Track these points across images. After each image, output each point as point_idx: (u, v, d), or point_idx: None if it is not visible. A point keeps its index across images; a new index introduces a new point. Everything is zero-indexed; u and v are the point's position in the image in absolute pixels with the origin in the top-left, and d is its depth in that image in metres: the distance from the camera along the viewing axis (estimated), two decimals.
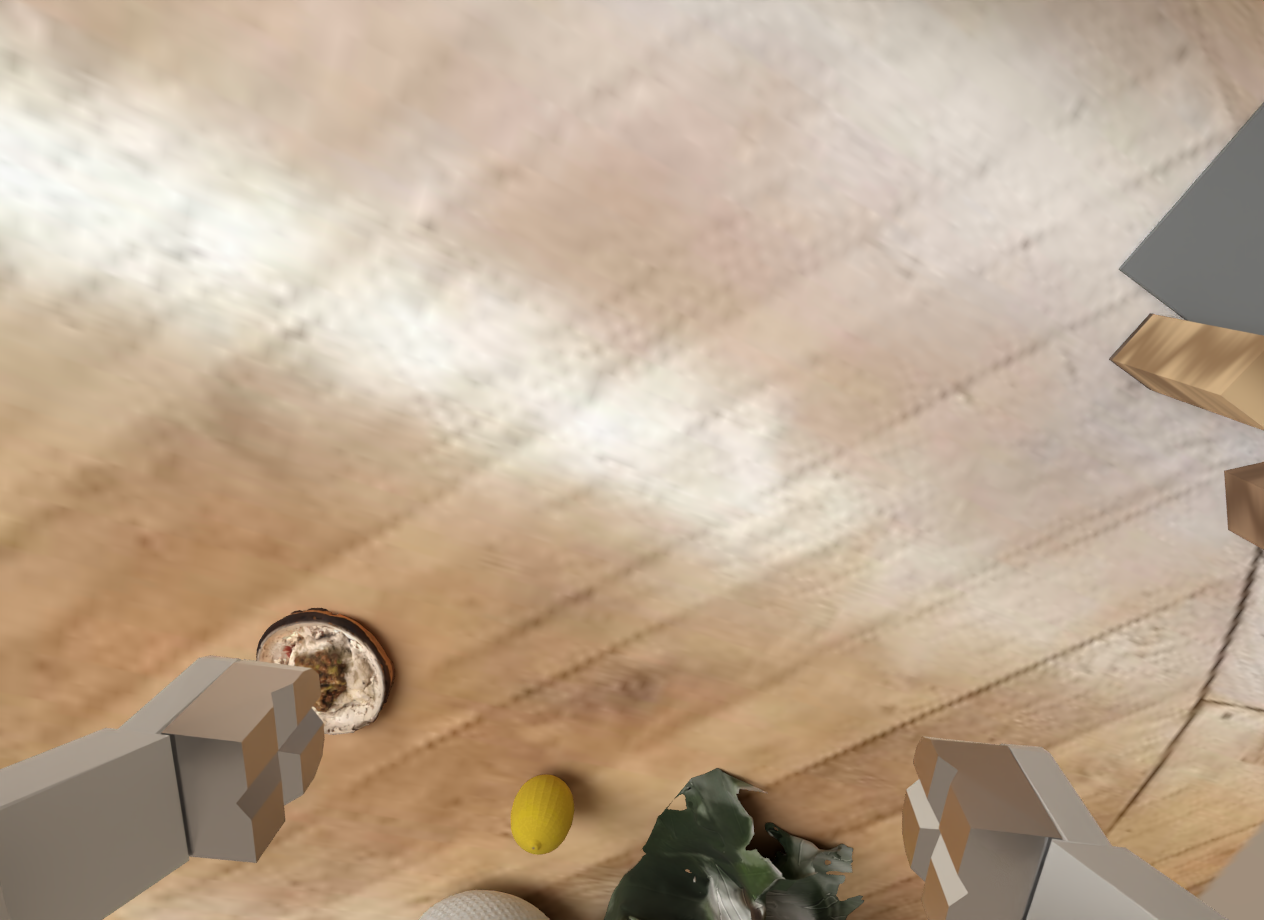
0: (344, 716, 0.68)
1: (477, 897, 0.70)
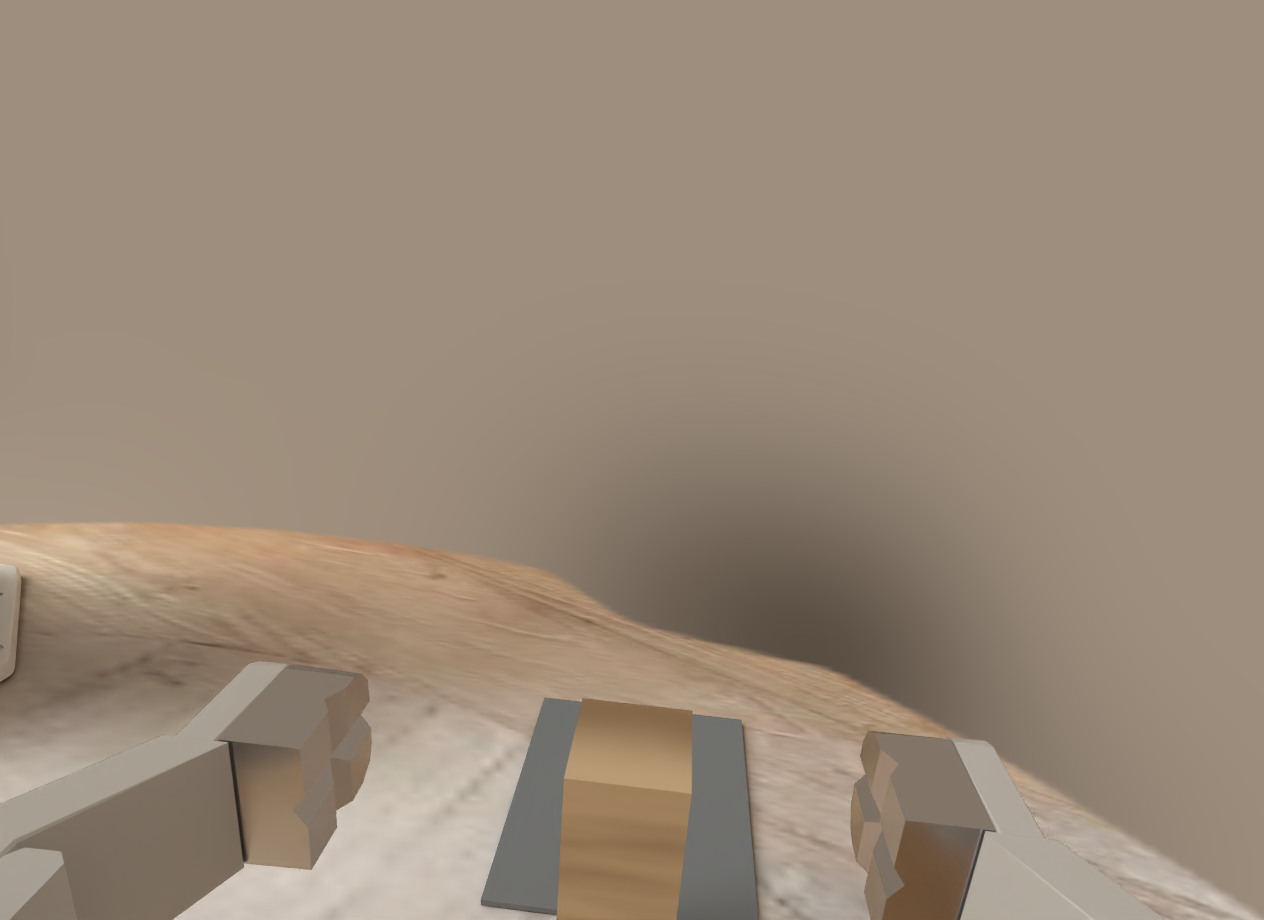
0: None
1: None
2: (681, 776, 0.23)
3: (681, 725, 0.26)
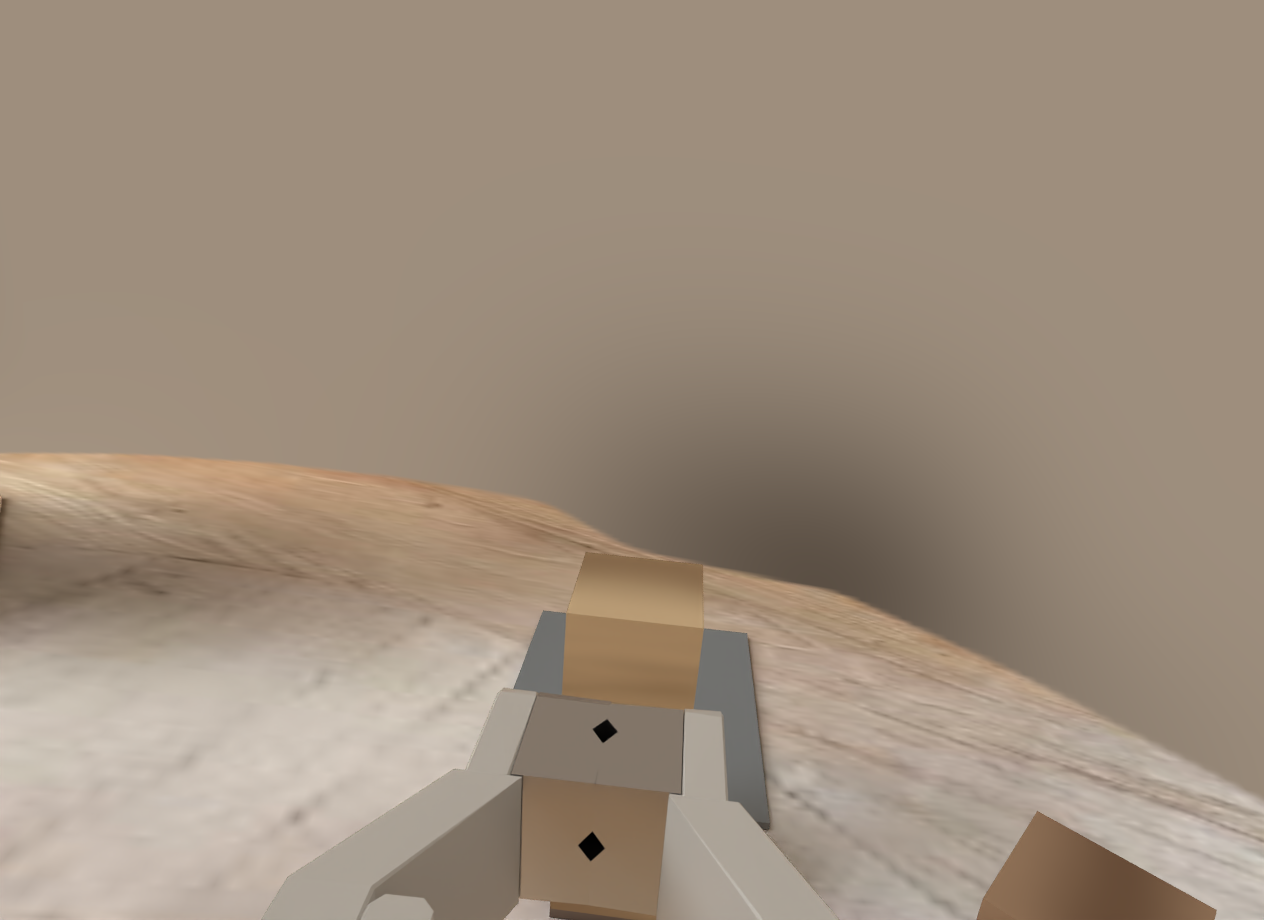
0: None
1: None
2: (692, 614, 0.22)
3: (691, 575, 0.24)
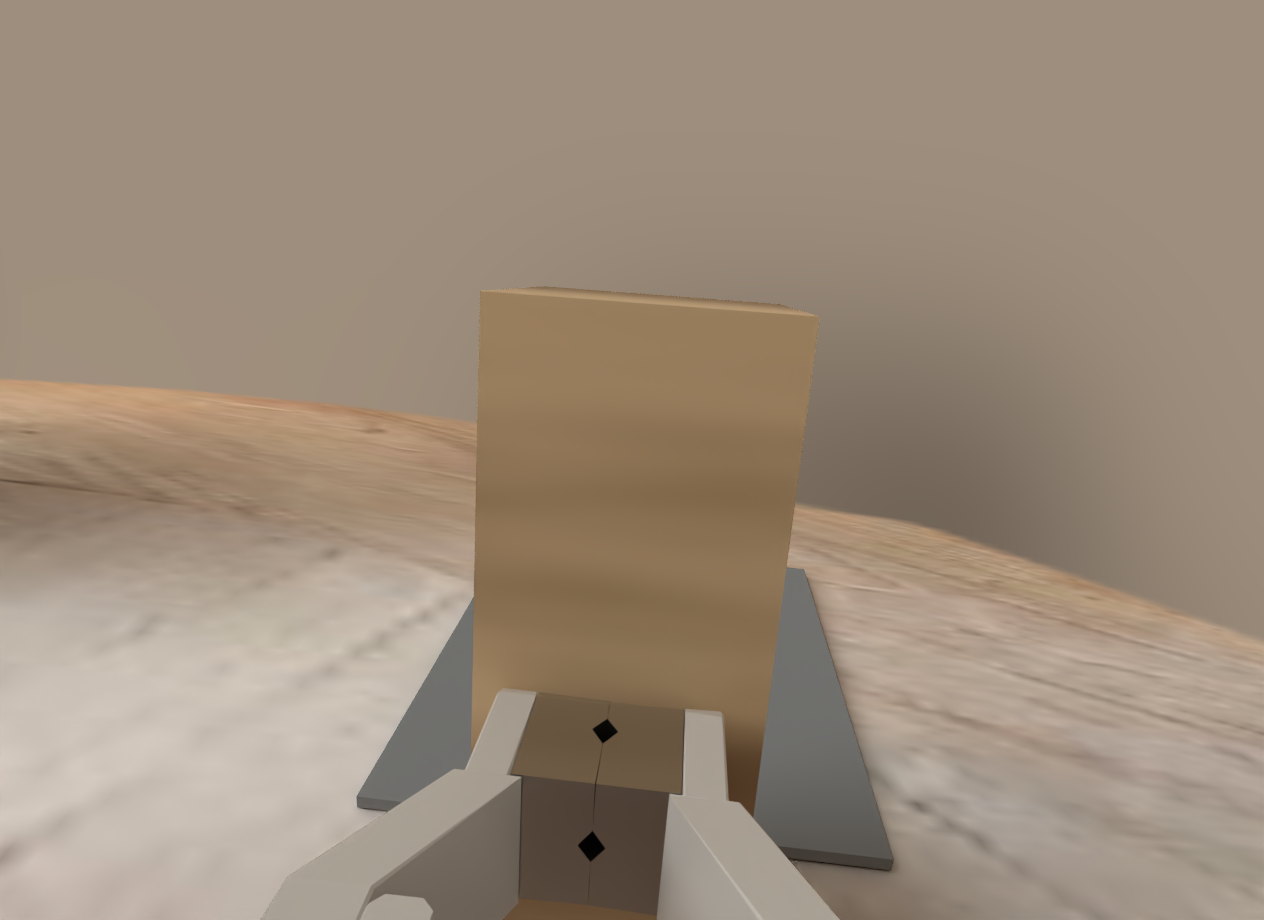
0: None
1: None
2: (784, 311, 0.09)
3: (761, 304, 0.12)
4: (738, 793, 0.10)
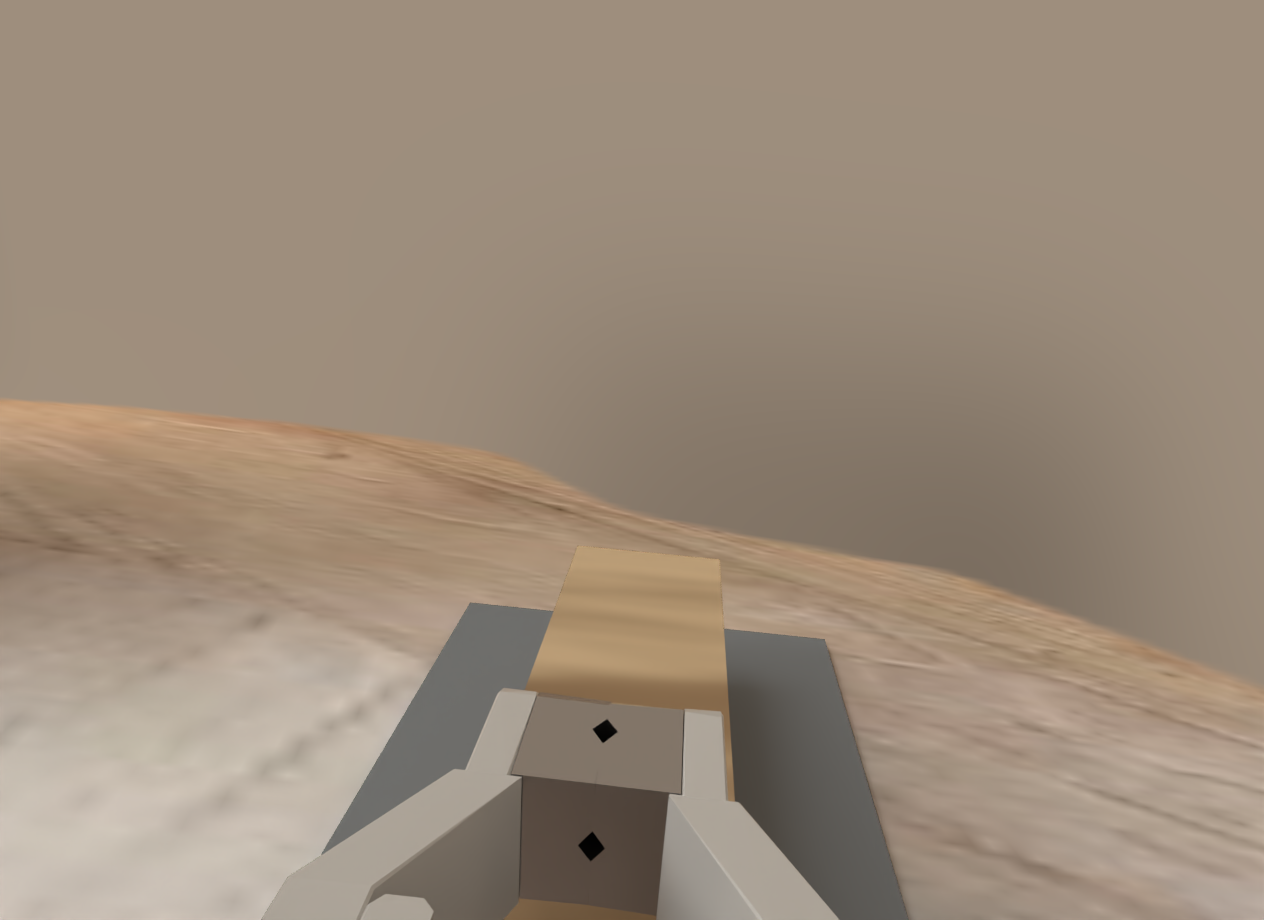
0: None
1: None
2: None
3: None
4: (716, 702, 0.14)
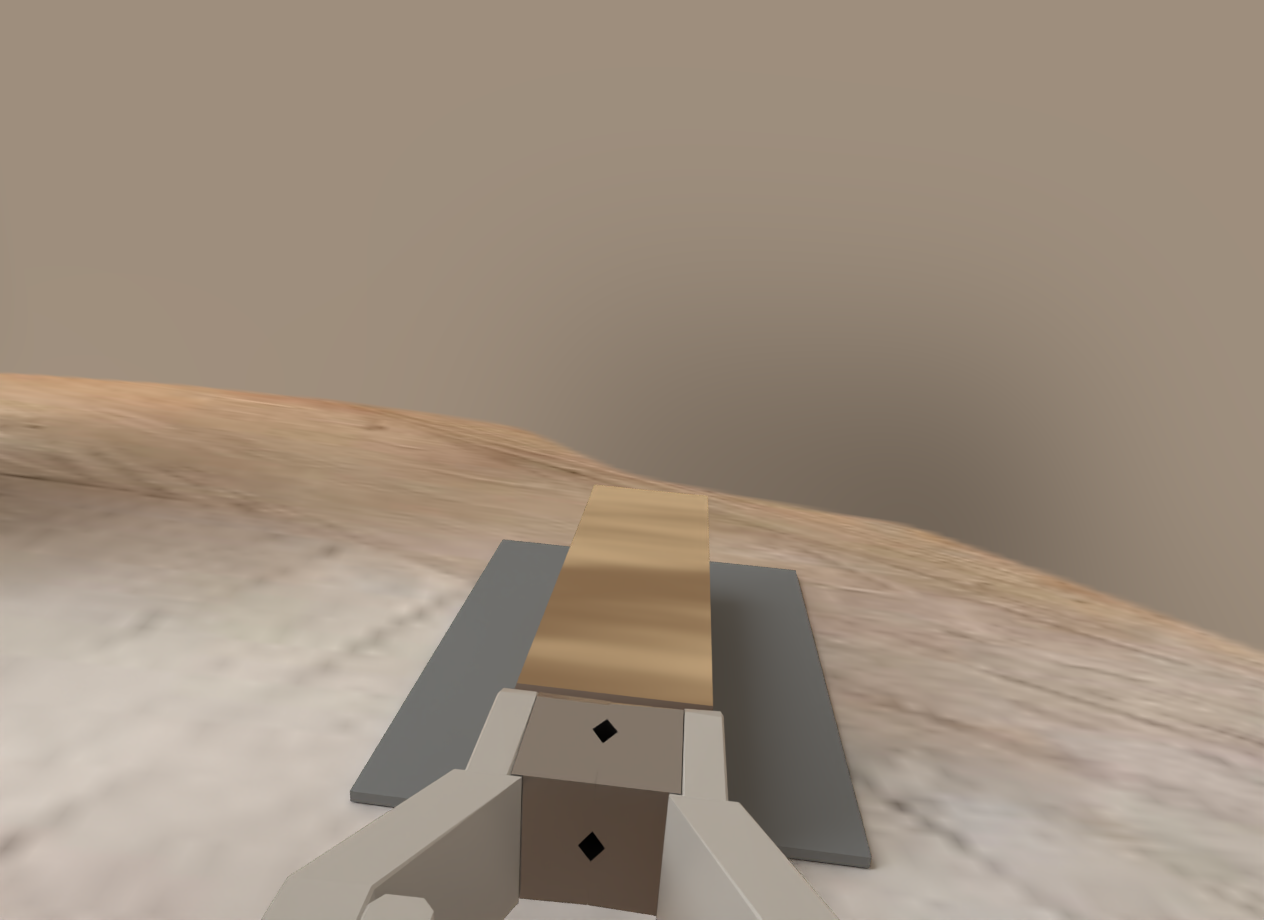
0: None
1: None
2: None
3: None
4: (700, 582, 0.20)
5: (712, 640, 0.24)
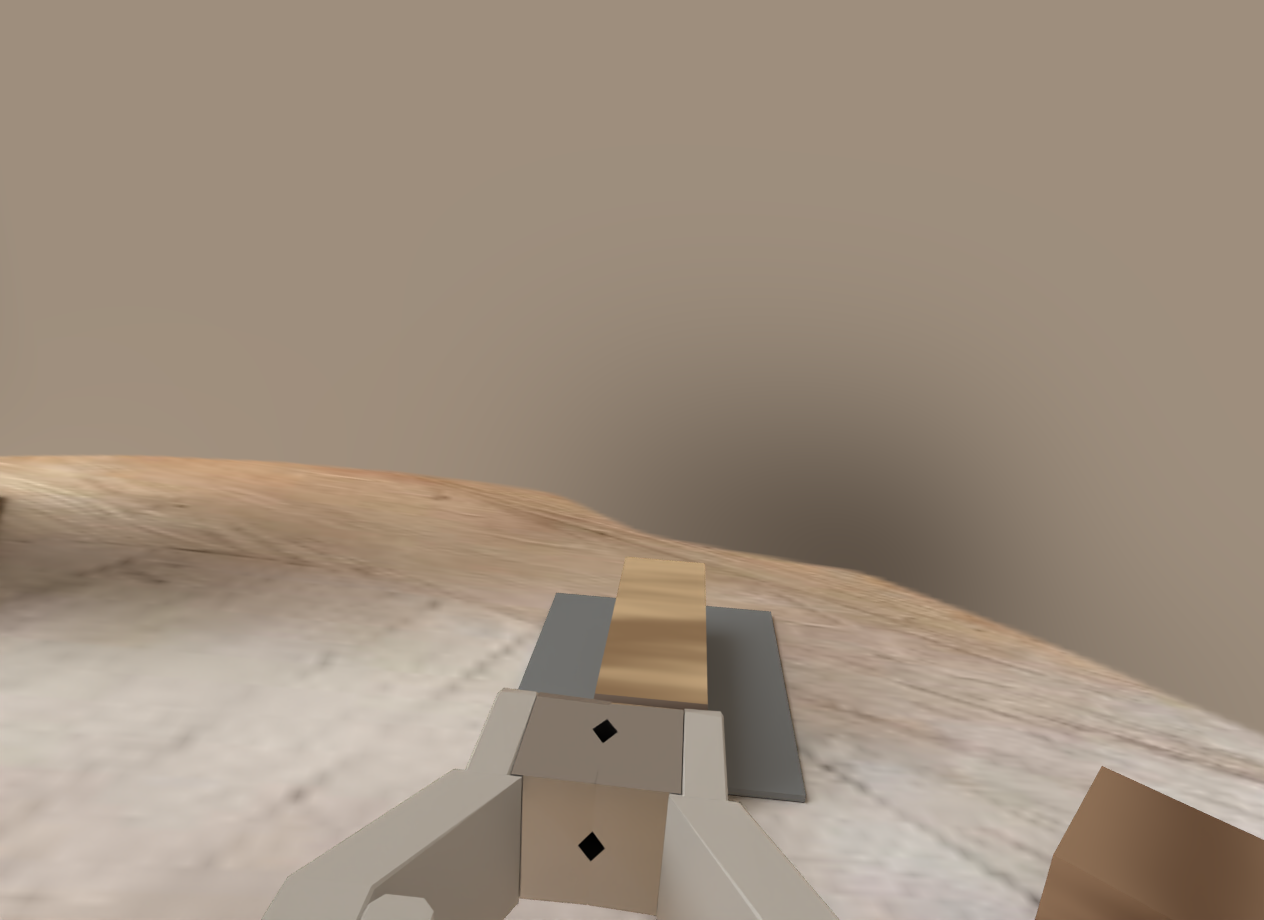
0: None
1: None
2: None
3: None
4: (700, 628, 0.31)
5: (710, 664, 0.35)
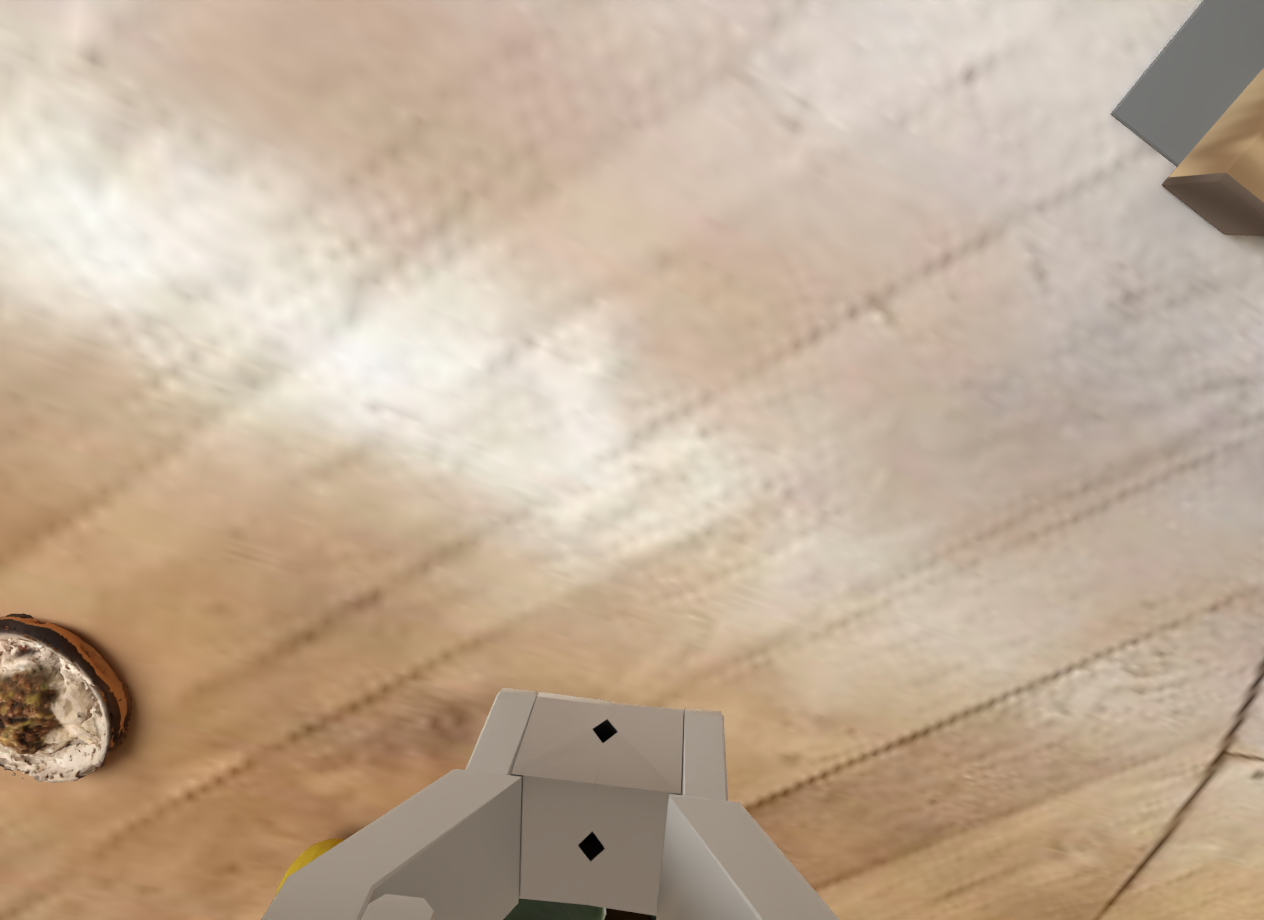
0: (67, 759, 0.50)
1: None
2: None
3: None
4: None
5: None
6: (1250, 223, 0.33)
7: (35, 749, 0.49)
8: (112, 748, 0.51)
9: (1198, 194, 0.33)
